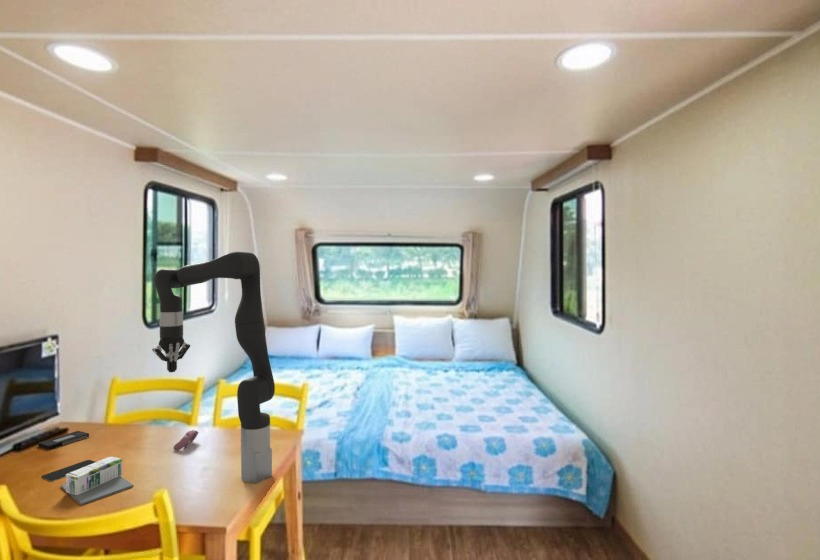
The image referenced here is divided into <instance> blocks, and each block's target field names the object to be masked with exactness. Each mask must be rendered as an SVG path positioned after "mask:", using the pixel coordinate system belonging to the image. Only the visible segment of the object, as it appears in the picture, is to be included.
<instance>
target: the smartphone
mask: <svg viewBox="0 0 820 560" xmlns="http://www.w3.org/2000/svg"><path fill="white" fill-rule="evenodd" d="M95 462H96V461H94V460H91V459H86V460H83V461H79V462H77V463H74V464H71V465H69V466H65V467H63V468H60V469H58V470H54V471H51V472H48V473H45V474H43V475H41V477H40V478H41V479H43V478H44V479H43V480H45V479H46V480H45V481H48V480H49V481H48V482H55V481H54V480H56V481H58V480H60V478H61V479H64V478H66V474H68V473H70V472H73V471H75V470H78V469H80V468H83V467H85V466H88V465H90V464H93V463H95ZM63 477H64V478H63ZM57 479H58V480H57Z"/></svg>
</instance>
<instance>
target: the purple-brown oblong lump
mask: <svg viewBox="0 0 820 560" xmlns="http://www.w3.org/2000/svg"><path fill="white" fill-rule="evenodd" d="M198 435H199V431H198V430H196V429H195V430H194V429H192V430H189V431H187V432H186V433H185V434H184V436H183V437H182V438H181V439H180V440H179V441H178V442H177V443H176V444H174V446H173V450H174V451H176V452H177V451H180V450H181V449H183V448H185V449H186V448H188V446H189V445H190V444H191V445H192V444H193V443H194V440H196V438H197V436H198Z"/></svg>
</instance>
